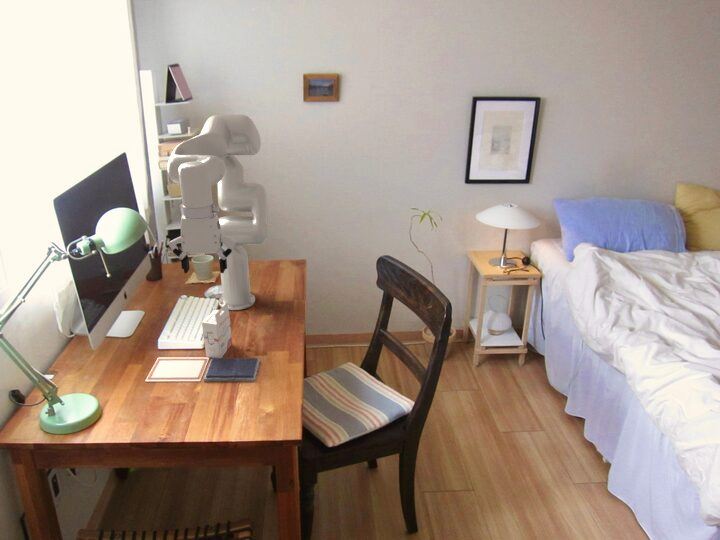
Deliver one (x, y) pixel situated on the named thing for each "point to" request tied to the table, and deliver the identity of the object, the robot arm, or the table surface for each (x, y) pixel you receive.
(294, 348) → the table surface
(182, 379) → the print sheet
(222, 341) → the ink cartridge box
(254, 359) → the ink pad
